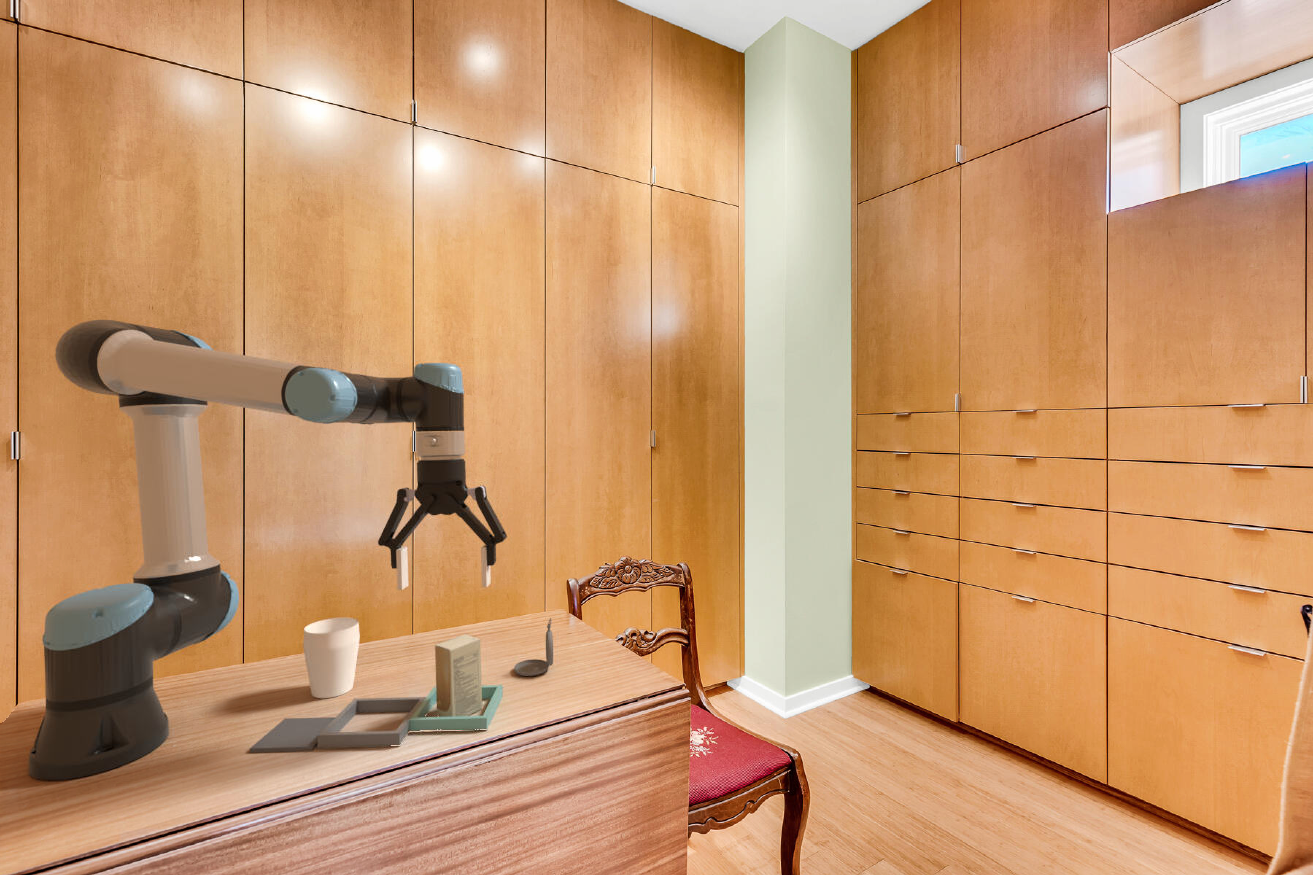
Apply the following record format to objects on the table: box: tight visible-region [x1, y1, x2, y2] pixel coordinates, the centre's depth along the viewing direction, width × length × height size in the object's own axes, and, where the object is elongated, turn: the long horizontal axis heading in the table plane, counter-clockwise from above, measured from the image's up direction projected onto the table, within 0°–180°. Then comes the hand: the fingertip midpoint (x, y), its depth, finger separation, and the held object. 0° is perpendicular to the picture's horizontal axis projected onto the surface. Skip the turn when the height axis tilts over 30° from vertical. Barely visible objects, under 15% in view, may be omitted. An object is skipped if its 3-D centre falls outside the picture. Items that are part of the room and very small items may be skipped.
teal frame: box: [409, 684, 504, 731], centre depth 99 cm, size 12×12×2 cm
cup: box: [302, 617, 361, 699], centre depth 108 cm, size 9×9×12 cm
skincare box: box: [434, 633, 483, 717], centre depth 99 cm, size 6×4×12 cm
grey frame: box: [317, 696, 427, 750], centre depth 95 cm, size 12×12×2 cm
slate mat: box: [249, 716, 337, 753], centre depth 92 cm, size 9×9×1 cm
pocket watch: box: [513, 617, 554, 677], centre depth 117 cm, size 8×8×10 cm
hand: (444, 586), depth 98 cm, fingers open, 13 cm apart
